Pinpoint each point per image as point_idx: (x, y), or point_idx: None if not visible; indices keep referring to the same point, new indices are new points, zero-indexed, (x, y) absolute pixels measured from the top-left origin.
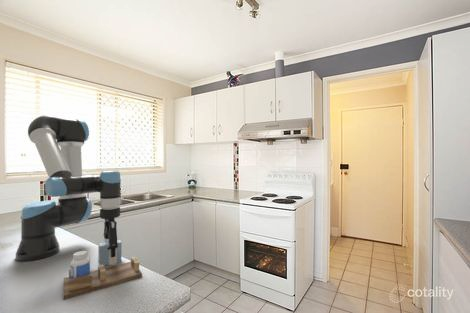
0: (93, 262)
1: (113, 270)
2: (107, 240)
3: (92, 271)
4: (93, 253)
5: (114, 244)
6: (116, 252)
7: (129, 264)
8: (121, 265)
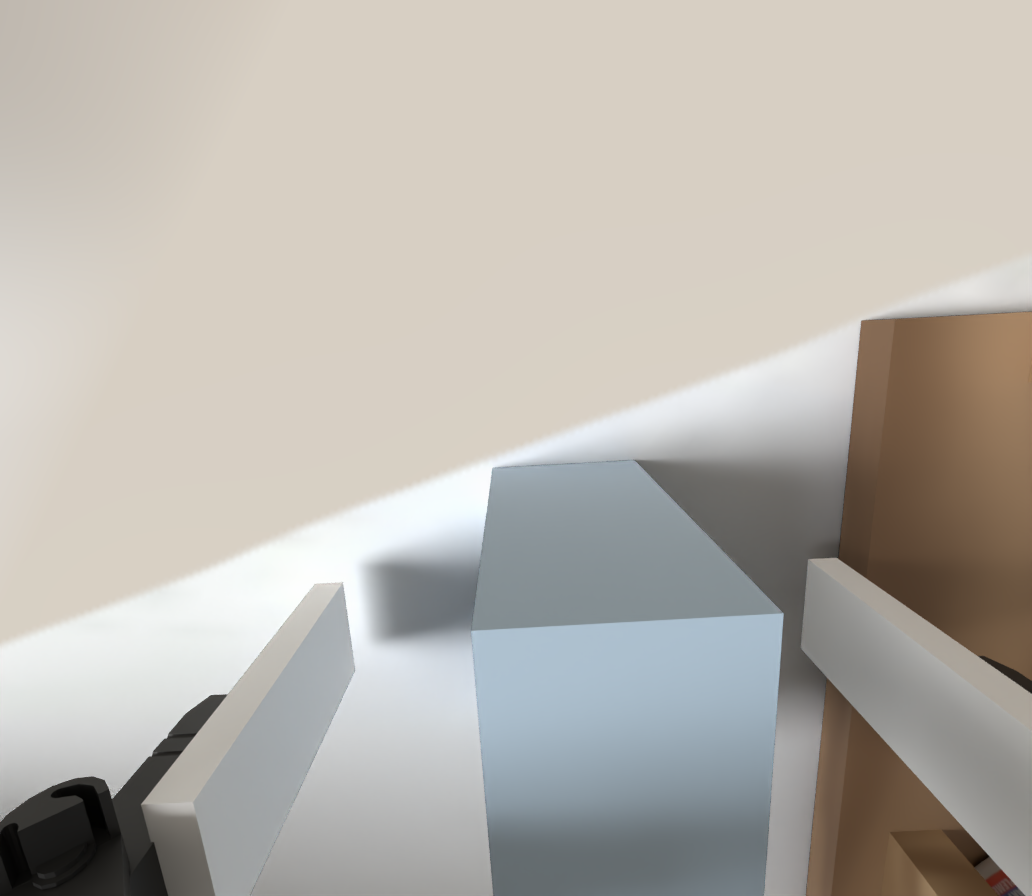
0: (466, 757)
1: (1015, 609)
2: (235, 851)
3: (853, 805)
4: (128, 751)
5: (761, 762)
6: (996, 671)
7: (981, 398)
8: (932, 504)
